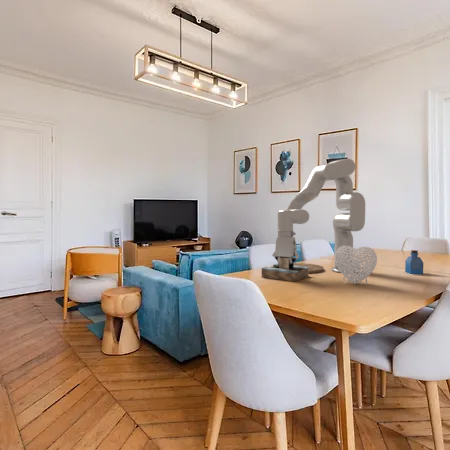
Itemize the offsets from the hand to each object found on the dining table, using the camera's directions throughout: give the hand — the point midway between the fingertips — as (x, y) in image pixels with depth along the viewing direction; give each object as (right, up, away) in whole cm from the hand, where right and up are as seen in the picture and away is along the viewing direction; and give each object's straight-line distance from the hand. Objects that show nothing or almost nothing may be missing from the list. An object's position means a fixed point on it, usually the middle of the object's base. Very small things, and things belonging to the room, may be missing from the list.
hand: (285, 270), depth 168 cm
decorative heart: (+28, -4, -17) cm, 33 cm away
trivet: (+12, -3, +20) cm, 23 cm away
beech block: (0, -3, 0) cm, 3 cm away
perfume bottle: (+68, -3, +6) cm, 68 cm away
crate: (0, -3, 0) cm, 3 cm away
